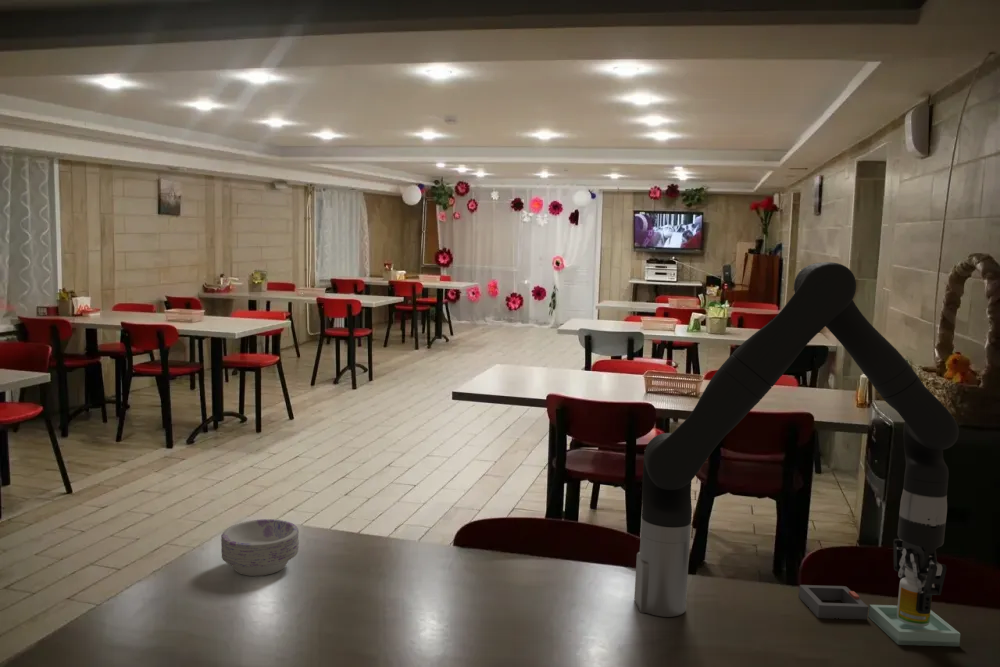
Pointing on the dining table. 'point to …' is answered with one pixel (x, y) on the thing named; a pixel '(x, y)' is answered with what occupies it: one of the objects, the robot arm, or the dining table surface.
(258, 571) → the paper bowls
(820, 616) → the socket collar
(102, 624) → the dining table surface
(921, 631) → the tray
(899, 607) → the supplement bottle
